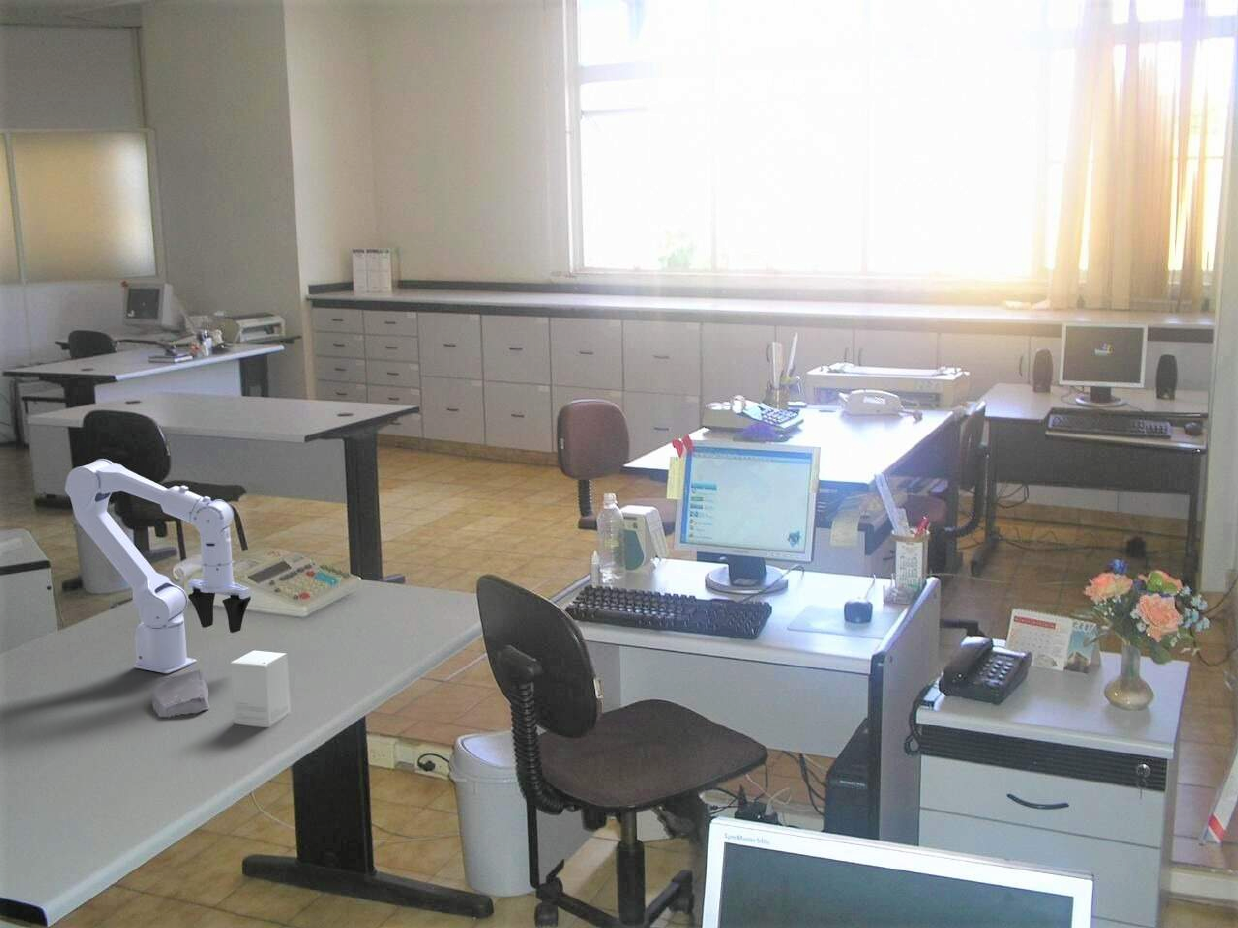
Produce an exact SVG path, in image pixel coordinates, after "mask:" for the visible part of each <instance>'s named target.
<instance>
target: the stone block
mask: <svg viewBox="0 0 1238 928" xmlns="http://www.w3.org/2000/svg"><path fill="white" fill-rule="evenodd" d="M207 684H208V683H207V681H206V678H205V675H204V673H203V671H202V670H201V669H197V670H195V671H191V672H186V673H183V674H179V675H175V676H172V677H170V678H168V679H165V680H163V681H162V682H160V683H158V684H157V685H156V686H155V687H154V689H153V690H152V694H151V697H152V703H151V705H152V707H153V710H154V709H155V710H154V712H155V711H156V712H157V713H158V716H160V717H161V718H165V717H168V718H172V717H171V716H173V717H176V716H175V715H178V716H181V715H180V714H185V715H189V713H193V714H198V713H201V712H203V711H205V710H209V709H210V704H209V689H208V685H207ZM156 712H155V713H156ZM158 716H157V717H158ZM160 717H159V718H160Z"/></svg>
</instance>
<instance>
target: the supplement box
mask: <svg viewBox="0 0 1238 928" xmlns="http://www.w3.org/2000/svg"><path fill="white" fill-rule="evenodd" d="M230 673H231V688H232V701H233V712H234V723H235V724H238V725H244V726H253V727H261V728H262V727H263V728H271V727H272V726H274V725H275V724H276V723H278V722H279V721H281V720H283V718H284V717H286V716H287V715H289V714H290V713H291V712H292V705H291V704H292V703H291V690H290V677H289V675H290V674H289V663H288V654H287V653H283V652H272V651H262V650H252V651H250V652H248V653H245V654H244V655H243V656H240V657H239V658H237V659H235V660H233V661H231V662H230Z"/></svg>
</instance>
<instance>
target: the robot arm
mask: <svg viewBox="0 0 1238 928" xmlns="http://www.w3.org/2000/svg"><path fill="white" fill-rule="evenodd" d="M64 491H65V493H66V495H68V496H69V498H70V502H71V505H72V509H73V513H74V517H75V519H76V521H77V523H78V524H79V525H80V526H81V528H83V530H84V531H85V533H86V534H87V535H88V536H89V537H90V539H91V540H92V541H93V542H94V544H96V546H97V547H98V548H99V550H100V551H101V552H102V553H103V554H104V556H105V557H106V558H107V559H108V561H109V563H110V564H111V565H112V566H113V567H114V568H115V569H116V571H117V572H118V573H119V574H120V576H121V577H122V578H123V579H124V580H125V582H126V583H127V584H128V585H129V587H130V588H131V590H132V602H133V604H134V605H135V607H136V608H137V611H138V615H139V618H140V620H141V623H139V625H138V626H137V627H136V630H135V634H134V642H135V653H136V655H135V656H136V663H134V664H133V667H134V668H136V669H142V670H148V671H152V672H158V673H163V674H170V673H172V672H173V673H174V672H175V671H177V670H180V669H183V668H186V667H188V666H191V665H193V664H195V663H197V662H198V661H197V659H195V658H189V657H187V642H186V631H185V617H184V612H185V610H186V609H187V607H188V603H189V601H190V602H191V604H192V606H193V607H194V609H195V611H196V613H197V616H198V618H199V621H200V623H201V624H200V625H201V628H203V629H206V628H208V627H211V626H213V624H214V601H215V597H216V595H222V596H228V598H226V599H222V604H223V606H224V608H225V611H226V614H227V619H228V620H227V621H228V628H229V632H230V633H231V634H234V633H237V632H240V631H241V630H242V629H241V628H242V625H243V624H242V623H243V620H244V616H245V613H246V612H245V611H246V610H247V607H248V605H249V603H250V601H251V595H250V587H249V586H244V585H242V584H239V583H238V582H235V580H234V568H233V553H232V551H233V550H232V549H233V548H232V538H231V526H230V525H232V523H233V521H234V518H235V513H234V510H233V507H232V506H231V504H229V503H228V502H226V501H225V500H224V499H220V498H219V499H214V500H211V497H209V496H207V495H205V496H202V495H200V494H197V493H195V492H193V491H190V490H189V487H188V486H186V485H181V486H177V485H174V486H173V487H170V488H166V487H165V486H163V485H161V484H159V483H156V482H154V481H152V480H150V479H148V478H146V477H144V476H142V475H139V474H137V473H136V472H134V471H131V470H130V469H128V468H126V467H125V466H123V465H122V464H120V463H116V462H115V463H114V462H112V461H111V460H108V459H106V458H105V459H104V458H100V459H96V460H95V461H93V462H91V463H88V464H85V465H81V466H77V467H74V468H72V469H71V470H70V471H69V472H68V474H67V476H66V482H65V487H64ZM120 491H121V492H125V493H127V494H130V495H133V496H137V497H139V498H141V499H145V500H147V501H149V502H153V503H155V504H158V505H160V507H161V510H162V512H163V513H164V514H167V515H168V516H172V517H174V518H177V519H179V520H181V521H184V522H186V523H188V524H190V525H192V526H194V528H195V529H196V530H197V531H198V533H199V534H200V552H201V567H202V568H201V569H202V579H199V578H195V579H190V580H188V590H189V591H191V592H192V593H189V594H188V595H187V593H186V591H185V590H184V589H183V587H181V586H179V585H177V584H175V583H174V582H173V581H171V579H170V578H169V577H167V576H165V575H163V574H160V573H159V572H156V570H155V569H154V568H153V566H152V565H151V564H150V563H149V561H148V560H147V559H146V557H144V555H143V554H142V553H141V552H140V550H138V548H137V547H136V545H134V543H133V542H132V540H130V538H129V537H128V536H127V534H126V533H125V532H124V531H123V529H122V528H121V527H120V526H119V525H118V523H117V522H116V521H115V520H114V518H113V517H112V516H111V514H109V512H108V506H109V502H110V501H109V500H110V498H111V496H112V494H113V493H115V492H120Z"/></svg>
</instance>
